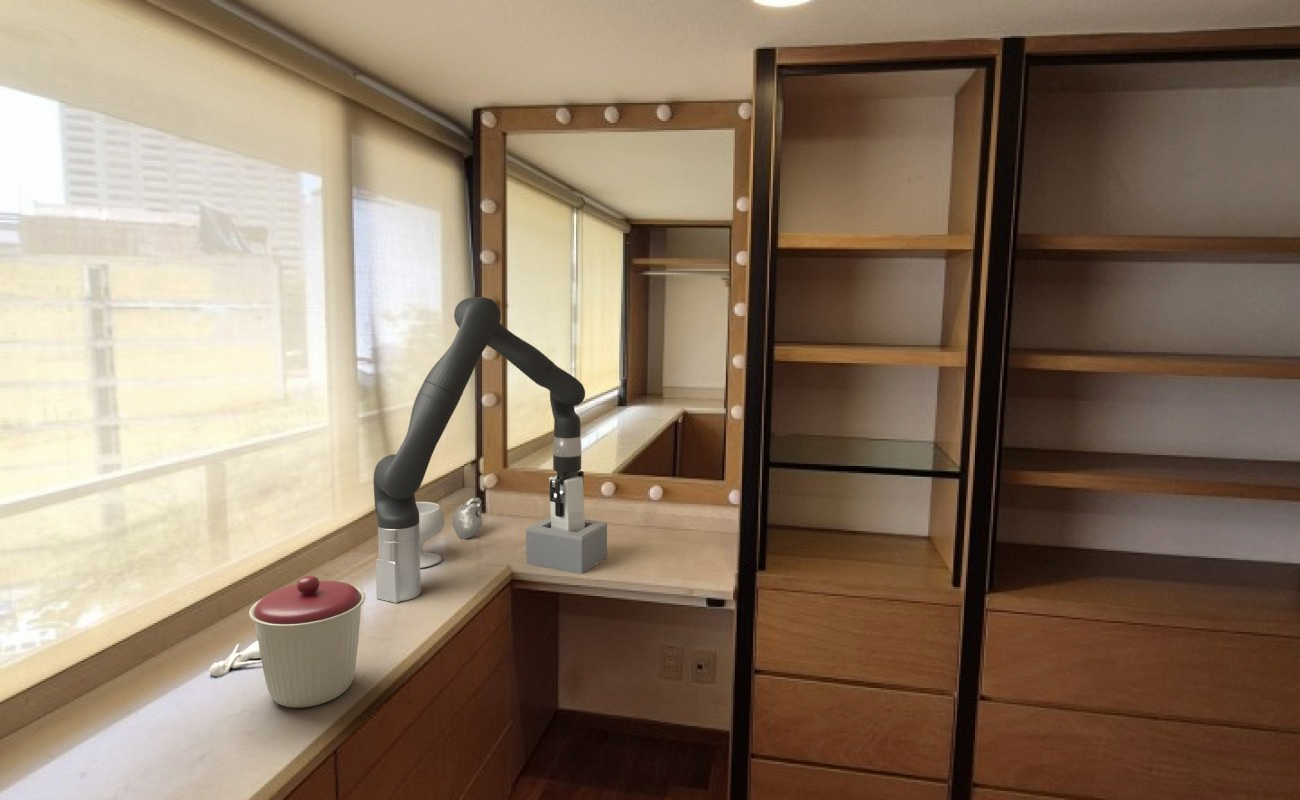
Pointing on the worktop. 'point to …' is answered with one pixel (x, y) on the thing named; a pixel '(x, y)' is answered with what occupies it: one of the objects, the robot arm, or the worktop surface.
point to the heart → (468, 518)
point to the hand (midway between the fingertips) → (567, 512)
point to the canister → (308, 640)
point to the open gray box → (566, 546)
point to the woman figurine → (236, 660)
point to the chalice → (429, 529)
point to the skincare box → (570, 506)
